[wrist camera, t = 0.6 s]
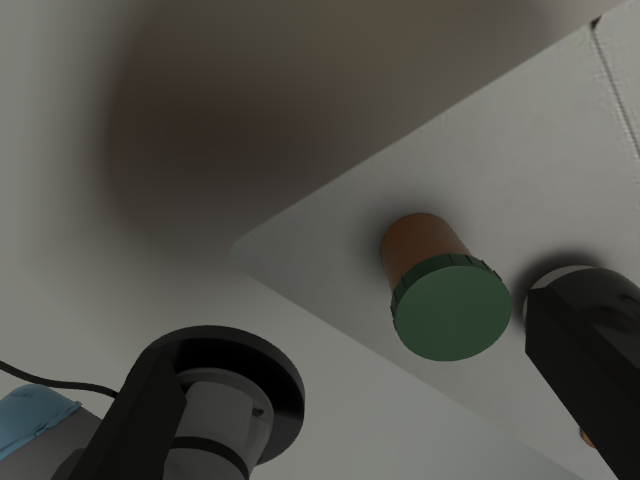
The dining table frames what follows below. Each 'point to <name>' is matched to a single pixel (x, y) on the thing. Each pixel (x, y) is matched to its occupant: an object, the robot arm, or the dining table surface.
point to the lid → (450, 307)
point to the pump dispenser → (600, 303)
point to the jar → (416, 244)
